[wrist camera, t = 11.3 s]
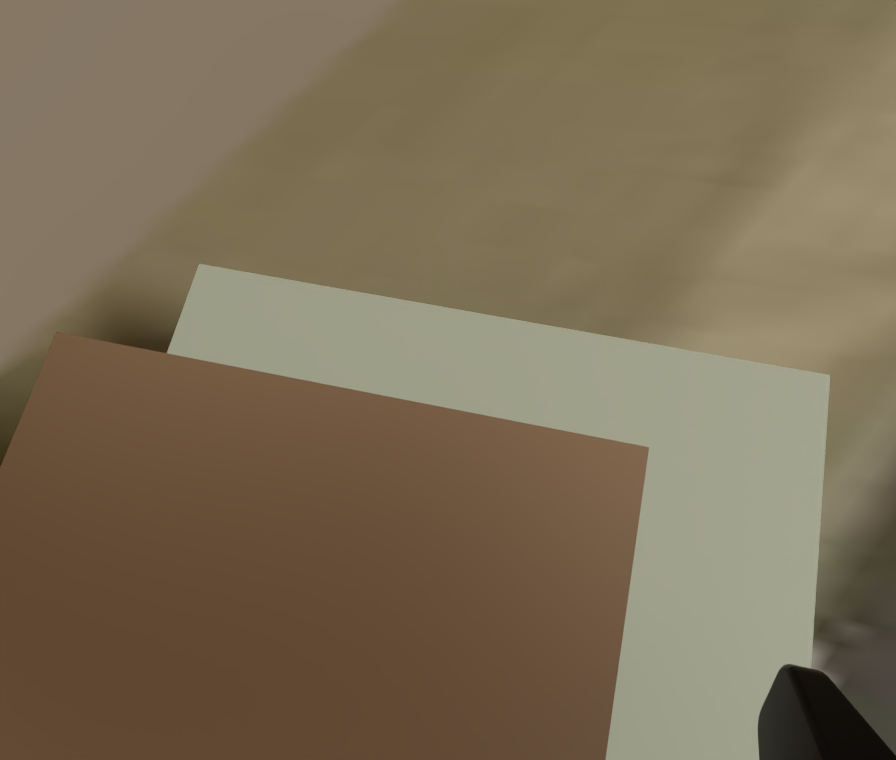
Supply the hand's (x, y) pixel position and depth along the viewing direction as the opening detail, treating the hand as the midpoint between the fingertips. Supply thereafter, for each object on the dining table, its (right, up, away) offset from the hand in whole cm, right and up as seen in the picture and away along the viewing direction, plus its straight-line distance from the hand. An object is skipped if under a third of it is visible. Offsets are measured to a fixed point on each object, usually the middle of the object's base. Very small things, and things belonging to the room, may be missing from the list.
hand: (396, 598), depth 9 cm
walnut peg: (0, -3, +8) cm, 8 cm away
